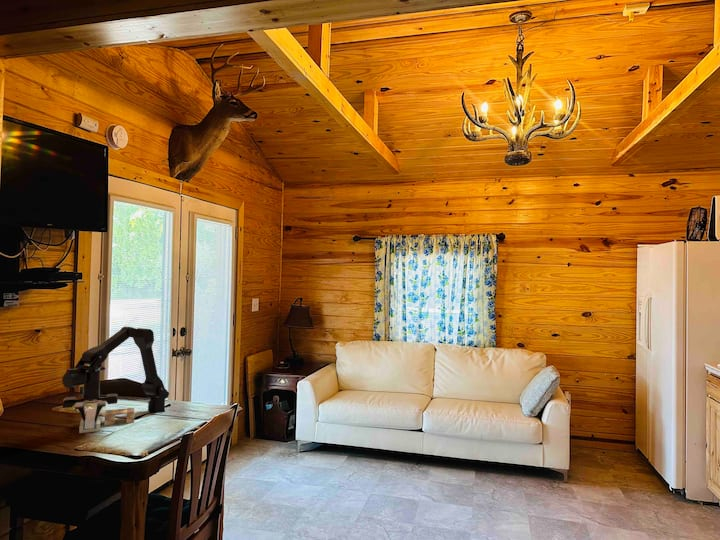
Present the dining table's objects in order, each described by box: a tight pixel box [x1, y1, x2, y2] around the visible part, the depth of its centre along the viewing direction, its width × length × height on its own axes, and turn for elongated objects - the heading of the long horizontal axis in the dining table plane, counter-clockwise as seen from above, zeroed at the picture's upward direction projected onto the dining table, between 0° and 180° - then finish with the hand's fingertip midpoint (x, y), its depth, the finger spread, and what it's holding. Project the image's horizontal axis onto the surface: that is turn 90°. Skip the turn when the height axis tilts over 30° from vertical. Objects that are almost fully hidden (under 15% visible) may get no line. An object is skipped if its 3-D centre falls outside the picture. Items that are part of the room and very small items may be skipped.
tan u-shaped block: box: [103, 407, 135, 426], centre depth 200 cm, size 11×6×5 cm, turn 117°
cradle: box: [78, 416, 102, 434], centre depth 191 cm, size 7×10×3 cm
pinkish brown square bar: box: [85, 407, 97, 429], centre depth 191 cm, size 18×3×3 cm, turn 27°
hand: (90, 422), depth 187 cm, fingers closed on pinkish brown square bar, 3 cm apart
